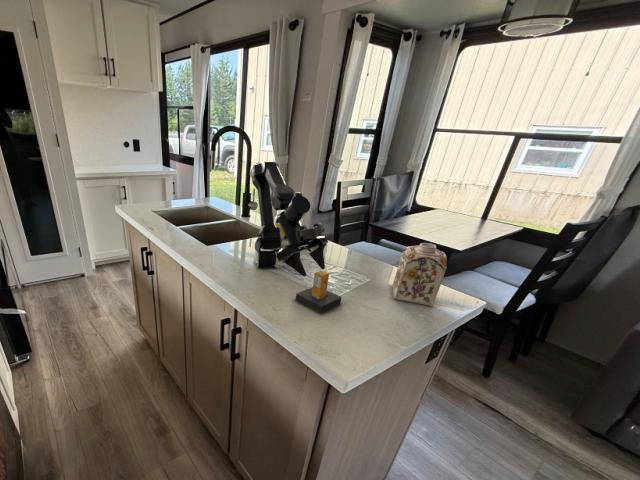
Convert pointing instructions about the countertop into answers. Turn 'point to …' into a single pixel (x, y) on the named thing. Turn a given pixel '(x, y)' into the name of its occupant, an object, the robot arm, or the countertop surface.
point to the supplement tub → (282, 234)
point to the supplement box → (320, 284)
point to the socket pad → (318, 300)
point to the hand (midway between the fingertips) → (314, 272)
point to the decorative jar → (419, 274)
